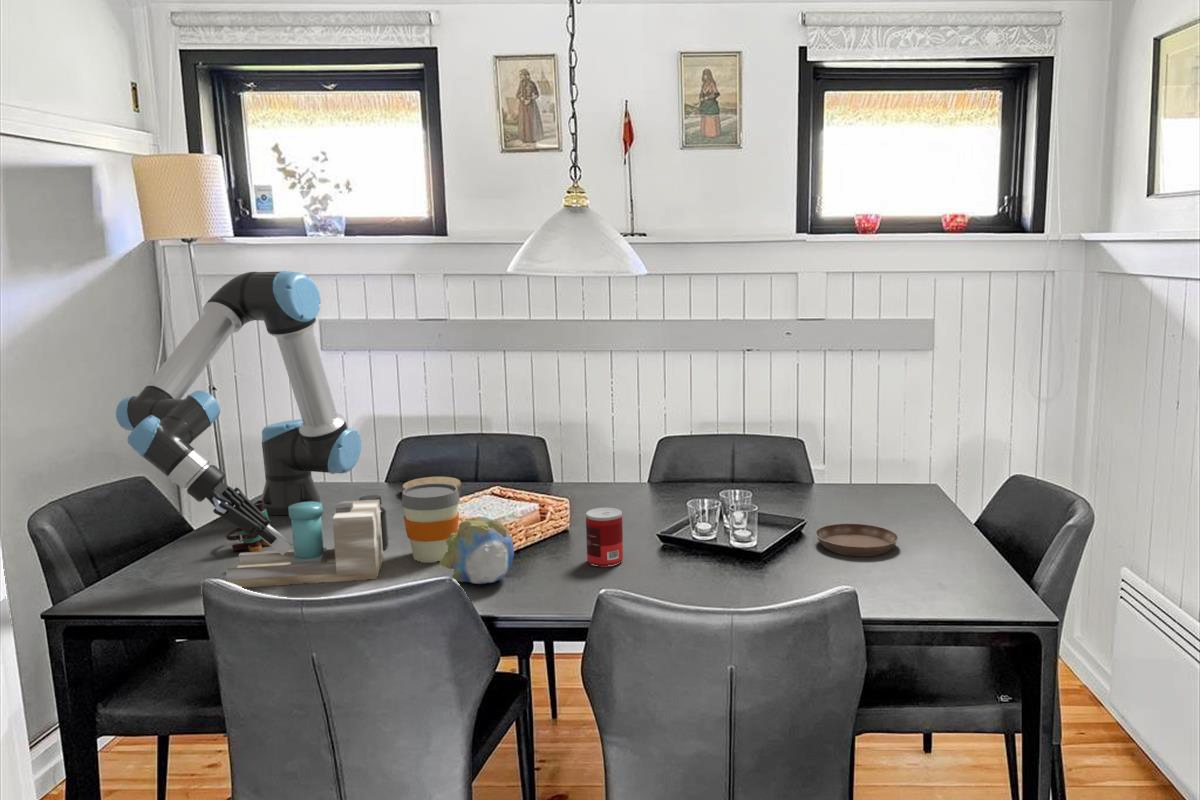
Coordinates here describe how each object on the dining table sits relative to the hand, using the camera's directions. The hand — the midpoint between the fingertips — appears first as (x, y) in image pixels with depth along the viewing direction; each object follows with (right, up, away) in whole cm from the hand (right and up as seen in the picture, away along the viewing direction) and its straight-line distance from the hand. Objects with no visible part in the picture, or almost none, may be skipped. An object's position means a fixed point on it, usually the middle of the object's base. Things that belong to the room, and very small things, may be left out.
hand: (287, 549), depth 201 cm
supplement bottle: (+14, -3, +17) cm, 22 cm away
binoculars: (-15, -3, +20) cm, 25 cm away
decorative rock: (+41, -6, -5) cm, 41 cm away
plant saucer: (+122, -1, +10) cm, 123 cm away
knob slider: (+4, -3, +1) cm, 6 cm away
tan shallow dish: (+19, +5, +64) cm, 67 cm away
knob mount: (+4, -5, +2) cm, 7 cm away
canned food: (+67, -3, +4) cm, 67 cm away
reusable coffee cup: (+29, -3, +11) cm, 31 cm away
